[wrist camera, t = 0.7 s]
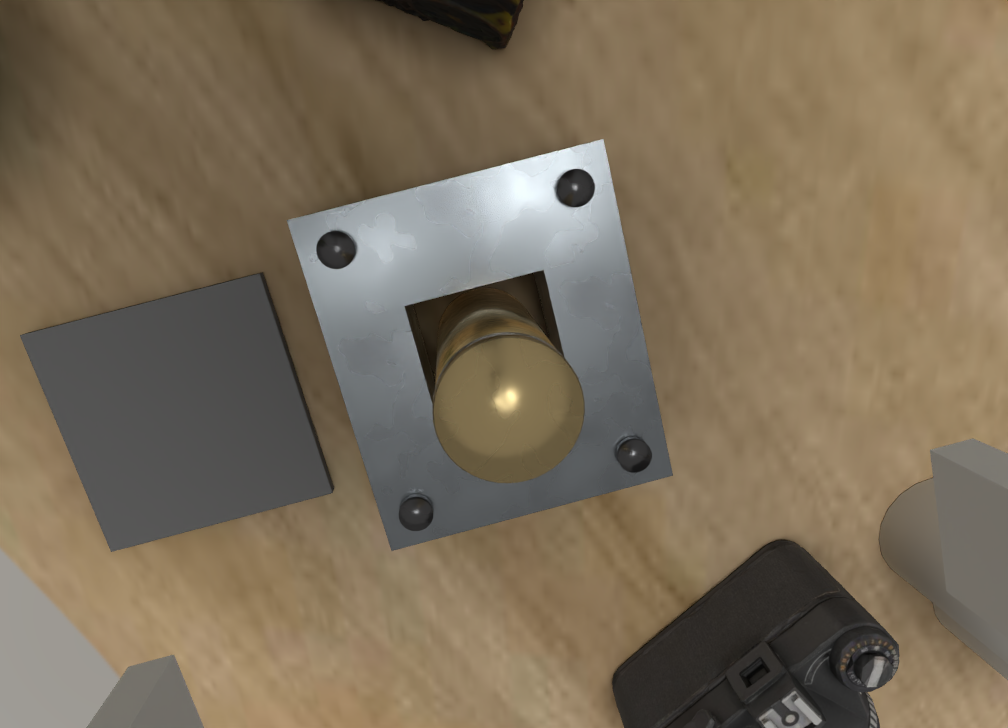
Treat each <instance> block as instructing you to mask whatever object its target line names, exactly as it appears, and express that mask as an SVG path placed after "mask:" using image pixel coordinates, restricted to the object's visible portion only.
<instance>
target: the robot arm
mask: <svg viewBox="0 0 1008 728" xmlns="http://www.w3.org/2000/svg"><path fill="white" fill-rule="evenodd" d="M930 453H931V462H932V471H933V479H934V488H935V496H936V505H937V514H938V522H939V531H940V539H941V548H942V557H943V565H944V574H945V582H946V591H947V592H948V593H949V594H951V595H952V596H953V597H954V598H956V599H957V600H958V601H960V602H961V603H962V604H964V605H965V606H966V607H967V608H969V609H970V610H971V611H973V612H974V613H975V614H977V615H978V616H979V617H980V618H982V619H983V620H984V621H986V622H987V623H988V624H990V625H991V626H992V627H994V628H995V629H996V630H997V631H999V632H1000V633H1001V634H1003V635H1004V636H1005V637H1007V638H1008V454H1007V453H1005V452H1003V451H1001V450H998V449H996V448H994V447H991V446H989V445H987V444H985V443H982V442H980V441H978V440H975V439H969V440H965V441H962V442H958V443H954V444H951V445H947V446H943V447H940V448H936V449H932V450H930ZM87 728H204V727H203V724H202V722H201V719H200V717H199V714H198V712H197V710H196V707H195V705H194V702H193V700H192V697H191V695H190V693H189V690H188V688H187V685H186V683H185V680H184V678H183V675H182V673H181V671H180V668H179V666H178V663H177V661H176V658H175V656H174V655H170V656H167V657H163V658H159V659H156V660H152V661H148V662H145V663H141V664H137V665H133V666H130V667H128V668H127V670H126V671H125V673H124V674H123V676H122V677H121V679H120V680H119V681H118V683H117V684H116V686H115V687H114V689H113V690H112V692H111V693H110V695H109V696H108V698H107V699H106V700H105V702H104V703H103V705H102V706H101V708H100V709H99V711H98V712H97V713H96V715H95V716H94V718H93V719H92V721H91V722H90V724H89V725H88V726H87Z"/></svg>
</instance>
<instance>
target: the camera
mask: <svg viewBox="0 0 1008 728" xmlns="http://www.w3.org/2000/svg"><path fill="white" fill-rule="evenodd" d="M898 665H899V645H898V644H897V642H896V641H895V640H894V639H893V638H892V636H891V635H890V634H889V633H888V632H887V631H886V630H885V629H884V628H883V627H882V626H881V625H880V624H879V623H878V622H877V621H876V620H875V619H874V618H873V617H872V616H871V615H870V614H869V613H868V612H867V611H866V610H865V609H864V608H863V607H862V606H861V605H860V604H859V603H858V602H857V601H856V600H855V599H854V598H853V597H852V596H851V595H850V594H849V593H848V592H847V591H846V590H845V589H844V588H843V586H842V585H841V584H839V583H838V582H837V581H836V580H835V579H834V578H833V577H832V576H831V575H830V574H829V573H828V571H827V570H826V569H824V568H823V567H822V566H821V565H820V564H819V563H818V562H817V561H816V560H815V559H814V558H813V557H812V556H811V555H810V554H809V553H808V552H807V551H806V550H805V549H804V548H802V547H800V546H799V545H798V544H796V543H794V542H791V541H786V540H781V541H775V542H772V543H770V544H768V545H766V546H765V547H764V548H762V549H761V550H760V551H758V552H757V553H756V554H755V555H754V556H752V557H751V558H750V559H749V560H747V561H746V562H745V563H744V564H743V565H742V566H740V567H739V568H738V569H737V570H735V571H734V572H733V573H732V574H731V575H729V576H728V577H727V578H726V579H725V580H724V581H722V582H721V583H720V584H719V585H717V586H716V587H715V588H714V589H712V590H711V591H710V592H709V593H708V594H706V595H705V596H704V597H703V598H702V599H700V600H699V601H698V602H697V603H696V604H695V605H693V606H692V607H691V608H690V609H688V610H687V611H686V612H685V613H683V614H682V615H681V616H680V617H679V618H677V619H676V620H675V621H674V622H673V623H672V624H671V625H669V626H668V627H667V628H666V629H664V630H663V631H662V632H661V633H660V634H659V635H657V636H656V637H655V638H653V639H652V640H650V641H649V642H648V643H647V644H646V645H645V646H644V647H643V648H642V649H640V650H639V651H638V652H637V653H636V654H634V655H633V656H632V657H631V658H629V659H628V660H627V661H626V662H625V663H624V664H623V665H622V666H620V667H619V668H618V669H617V671H616V672H615V674H614V677H613V681H612V685H613V692H614V696H615V700H616V704H617V708H618V710H619V713H620V716H621V719H622V722H623V725H624V728H880V724H879V719H878V716H877V713H876V710H875V707H874V703H873V701H872V698H871V697H870V695H869V694H868V693H867V692H871V691H873V690H875V689H878V688H880V687H882V686H883V685H885V684H886V683H887V682H888V681H890V680H891V679H892V678H893V676H894V674H895V673H896V671H897V669H898Z"/></svg>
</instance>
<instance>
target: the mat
mask: <svg viewBox="0 0 1008 728" xmlns="http://www.w3.org/2000/svg"><path fill="white" fill-rule="evenodd" d="M20 337H21V339H22V342H23V344H24V346H25V349H26V351H27V353H28V356H29V358H30V361H31V363H32V365H33V368H34V370H35V372H36V375H37V377H38V379H39V382H40V384H41V387H42V389H43V391H44V394H45V396H46V398H47V401H48V403H49V406H50V408H51V410H52V413H53V415H54V417H55V420H56V422H57V425H58V427H59V429H60V432H61V434H62V436H63V439H64V441H65V444H66V446H67V448H68V451H69V453H70V455H71V458H72V460H73V462H74V465H75V467H76V470H77V472H78V474H79V477H80V479H81V481H82V484H83V486H84V489H85V491H86V493H87V496H88V498H89V500H90V503H91V505H92V508H93V510H94V512H95V515H96V517H97V519H98V522H99V524H100V527H101V529H102V531H103V534H104V536H105V538H106V541H107V543H108V545H109V548H110V550H111V552H112V551H116V550H120V549H124V548H128V547H131V546H135V545H139V544H143V543H146V542H150V541H154V540H158V539H161V538H165V537H169V536H173V535H176V534H180V533H184V532H188V531H191V530H195V529H199V528H203V527H207V526H210V525H214V524H218V523H222V522H225V521H229V520H233V519H237V518H240V517H244V516H248V515H252V514H255V513H259V512H263V511H267V510H270V509H274V508H278V507H282V506H286V505H289V504H293V503H297V502H301V501H304V500H308V499H312V498H316V497H319V496H323V495H327V494H331V493H333V490H334V487H333V484H332V481H331V478H330V475H329V472H328V469H327V466H326V463H325V460H324V457H323V454H322V451H321V448H320V444H319V441H318V438H317V435H316V432H315V429H314V426H313V423H312V420H311V417H310V414H309V411H308V408H307V405H306V402H305V399H304V396H303V393H302V390H301V387H300V384H299V381H298V378H297V375H296V372H295V369H294V366H293V363H292V360H291V357H290V354H289V351H288V348H287V345H286V342H285V339H284V336H283V333H282V330H281V327H280V324H279V321H278V318H277V315H276V312H275V308H274V305H273V302H272V299H271V296H270V293H269V290H268V287H267V284H266V281H265V278H264V275H263V272H262V273H259V274H255V275H251V276H247V277H243V278H239V279H235V280H231V281H228V282H224V283H220V284H216V285H212V286H208V287H204V288H200V289H197V290H193V291H189V292H185V293H181V294H177V295H173V296H169V297H166V298H162V299H158V300H154V301H150V302H146V303H142V304H138V305H135V306H131V307H127V308H123V309H119V310H115V311H111V312H107V313H104V314H100V315H96V316H92V317H88V318H84V319H80V320H76V321H73V322H69V323H65V324H61V325H57V326H53V327H49V328H45V329H42V330H38V331H34V332H30V333H26V334H23V335H20Z"/></svg>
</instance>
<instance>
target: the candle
mask: <svg viewBox="0 0 1008 728" xmlns="http://www.w3.org/2000/svg"><path fill="white" fill-rule="evenodd" d="M377 1H383V2H384V3H386V4H388V5H389V6H395V7H396V8H398V9H401V10H403V11H404V12H406V13H409V14H412V15H415V16H419V17H420V18H421V19H422V20H423V21H426V20H431V21H434V22H436V23H438V24H441V25H444V26H447V27H450V28H452V29H453V30H455V31H457V32H460V33H463V34H465V35H468V36H471V37H474V38H476V39H479V40H482V41H483V42H485V43H486V44H487V45H488V46H489V47H491V48H492V49H498V48H505V47H506V46H507V44H508V42H509V40H510V38H511V36H512V32H513V30H514V27H515V25H516V24H517V20H518V16H519V13H520V11H521V9H522V7H523V1H524V0H377Z"/></svg>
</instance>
